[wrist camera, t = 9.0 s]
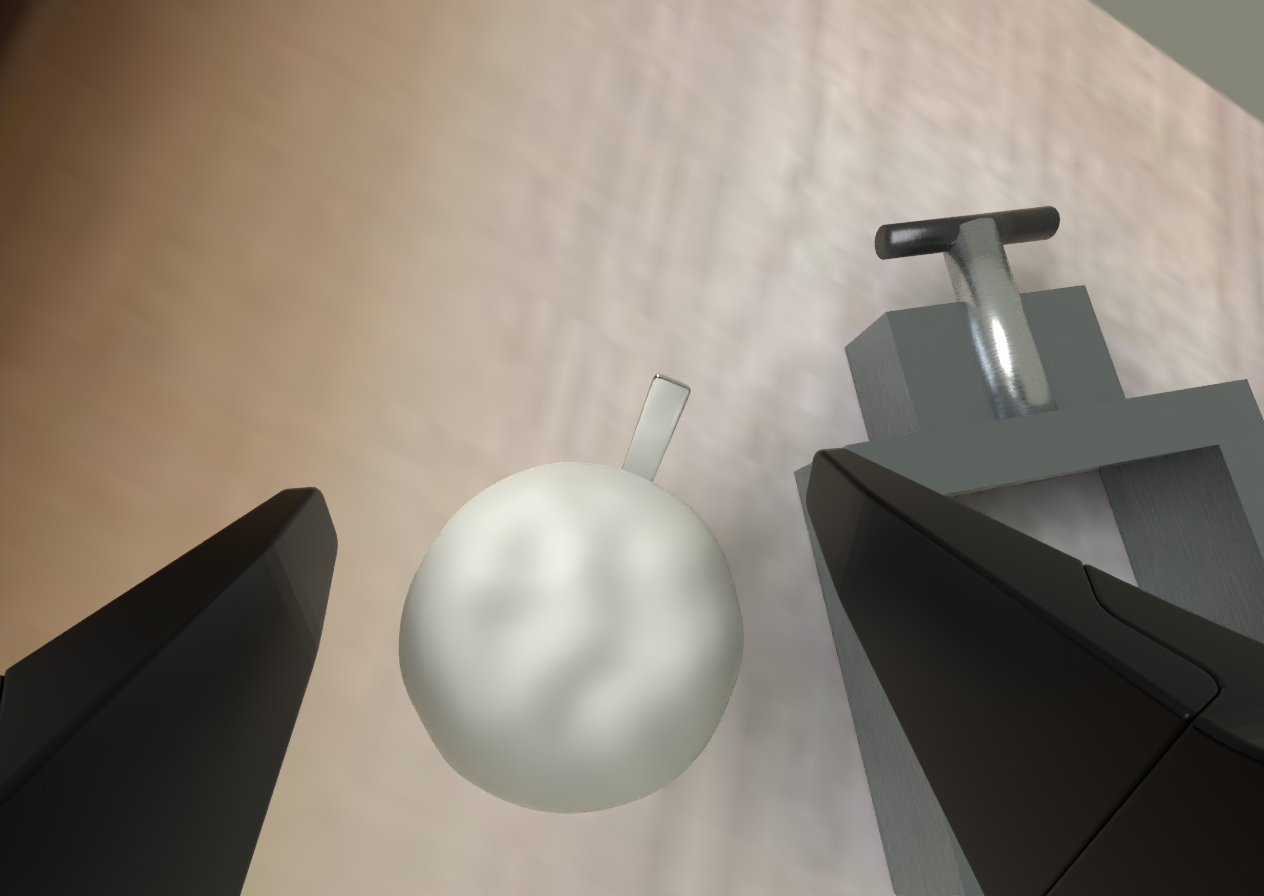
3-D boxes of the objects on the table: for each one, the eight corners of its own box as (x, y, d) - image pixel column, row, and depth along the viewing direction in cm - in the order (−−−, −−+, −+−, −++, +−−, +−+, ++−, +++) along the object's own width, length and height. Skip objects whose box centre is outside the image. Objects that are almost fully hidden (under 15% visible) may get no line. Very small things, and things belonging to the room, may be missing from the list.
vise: (1259, 793, 17) (1435, 847, 13) (894, 894, 15) (987, 983, 12) (1064, 244, 20) (1165, 176, 17) (749, 284, 19) (789, 217, 15)
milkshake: (707, 535, 17) (859, 455, 7) (633, 731, 15) (689, 969, 6) (556, 471, 17) (497, 305, 7) (470, 659, 16) (255, 769, 6)
